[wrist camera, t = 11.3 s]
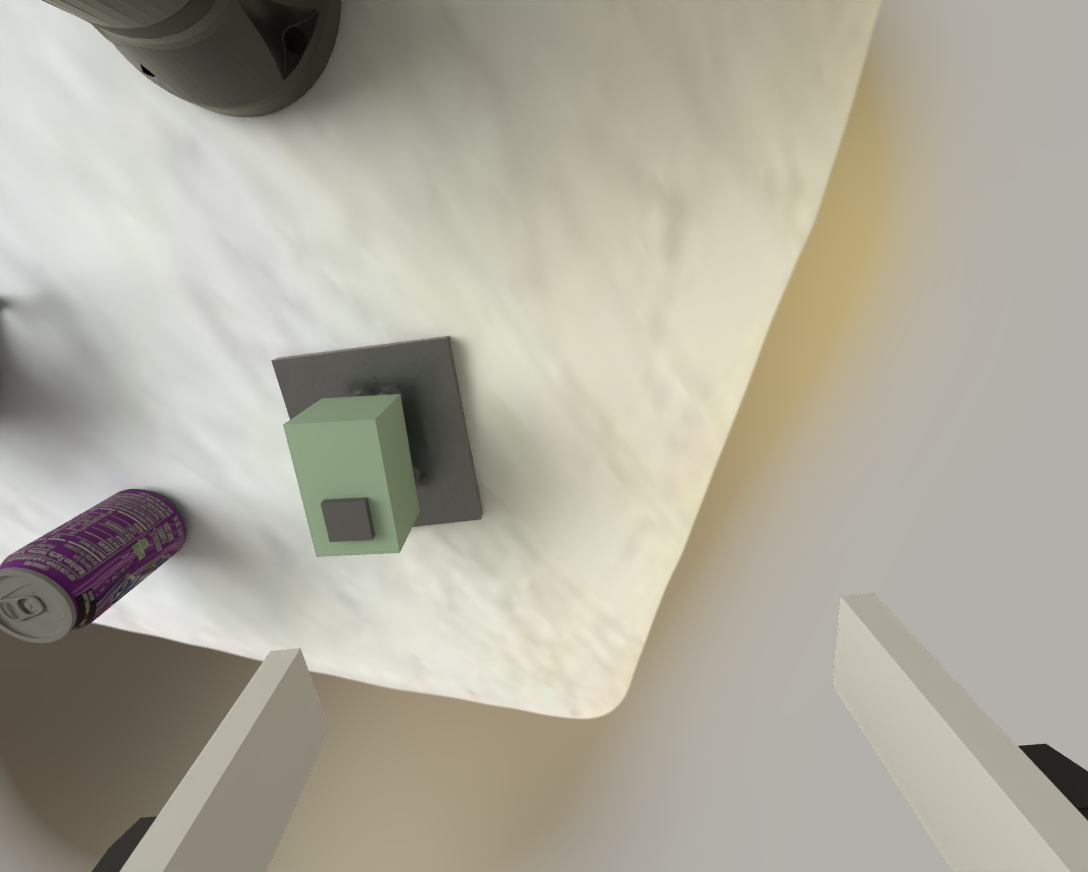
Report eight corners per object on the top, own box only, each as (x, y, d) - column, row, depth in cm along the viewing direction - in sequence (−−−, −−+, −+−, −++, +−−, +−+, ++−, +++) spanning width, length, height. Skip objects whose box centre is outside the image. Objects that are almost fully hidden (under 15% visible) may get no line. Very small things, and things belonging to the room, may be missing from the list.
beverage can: (136, 559, 48) (9, 656, 37) (96, 493, 46) (-52, 575, 34) (205, 545, 47) (98, 639, 36) (169, 477, 45) (42, 555, 34)
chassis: (277, 357, 41) (254, 367, 38) (448, 336, 40) (439, 344, 37) (331, 530, 47) (315, 551, 43) (482, 513, 46) (477, 534, 43)
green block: (321, 398, 39) (278, 427, 32) (400, 394, 38) (372, 422, 32) (347, 515, 42) (312, 561, 36) (419, 511, 42) (397, 557, 36)
